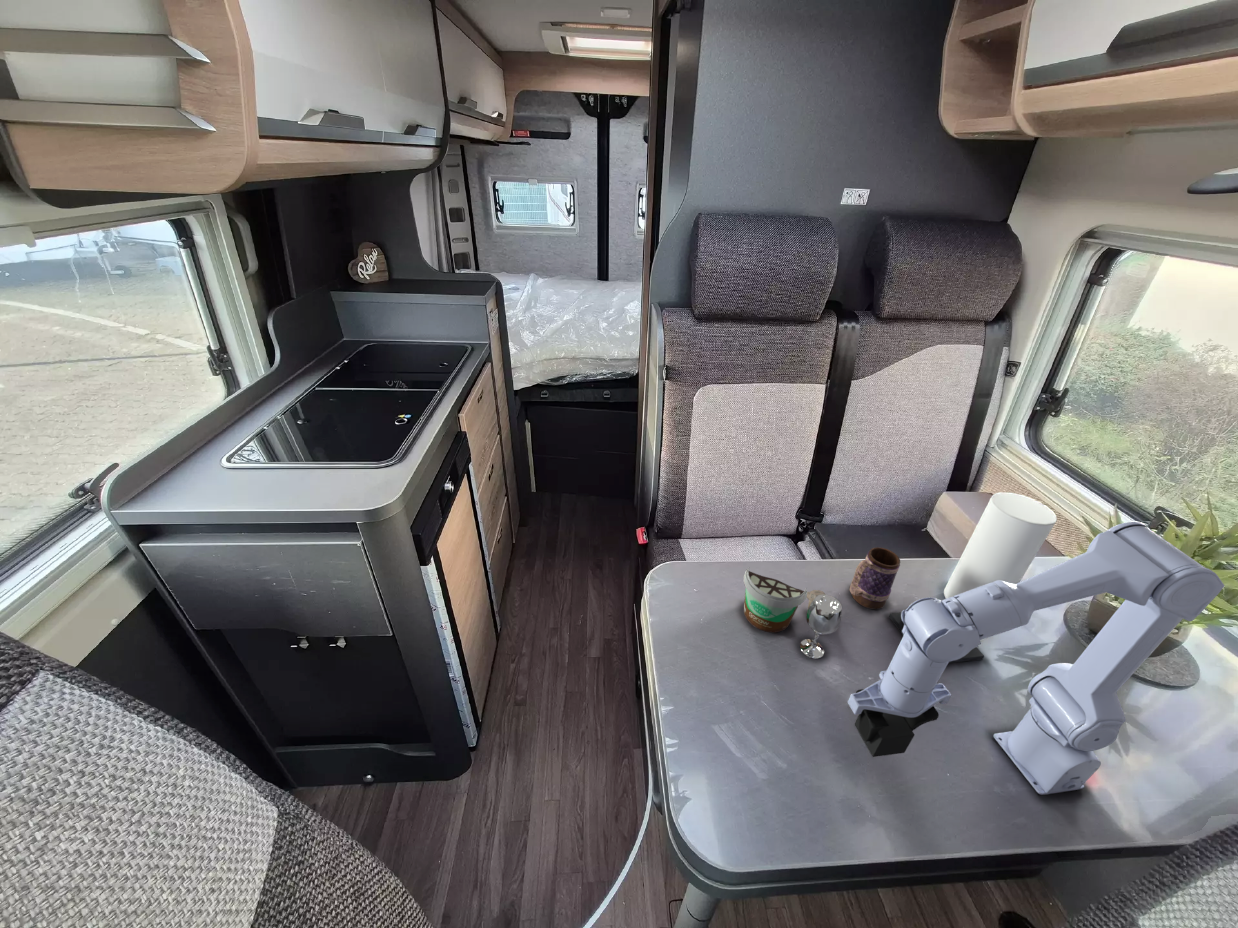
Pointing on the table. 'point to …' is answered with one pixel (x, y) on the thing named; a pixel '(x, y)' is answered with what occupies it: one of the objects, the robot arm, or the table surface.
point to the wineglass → (821, 623)
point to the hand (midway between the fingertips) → (881, 732)
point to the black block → (889, 737)
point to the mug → (875, 578)
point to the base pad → (972, 655)
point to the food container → (770, 602)
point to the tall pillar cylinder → (1002, 543)
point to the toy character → (813, 595)
